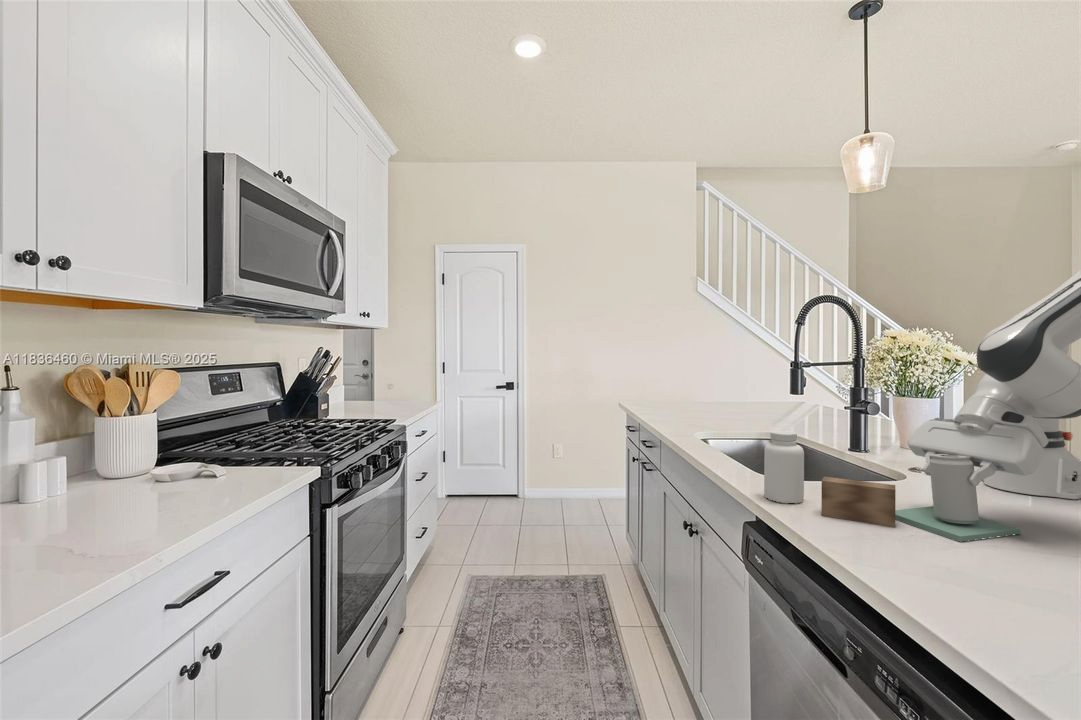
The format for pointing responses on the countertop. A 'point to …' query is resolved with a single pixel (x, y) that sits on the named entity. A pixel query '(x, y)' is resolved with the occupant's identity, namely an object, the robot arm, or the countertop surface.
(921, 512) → the green pad
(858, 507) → the walnut screen
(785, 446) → the pill bottle
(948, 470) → the beverage can
